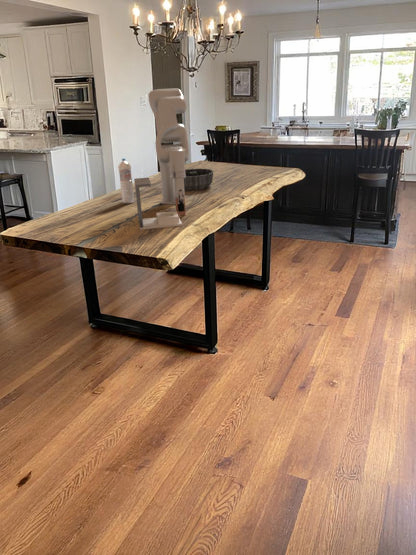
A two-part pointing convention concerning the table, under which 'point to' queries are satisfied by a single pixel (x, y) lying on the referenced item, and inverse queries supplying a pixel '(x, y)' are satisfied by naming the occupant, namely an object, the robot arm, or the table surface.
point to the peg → (177, 207)
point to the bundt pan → (198, 178)
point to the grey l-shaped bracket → (139, 183)
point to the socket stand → (162, 220)
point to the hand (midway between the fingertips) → (180, 209)
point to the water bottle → (126, 182)
